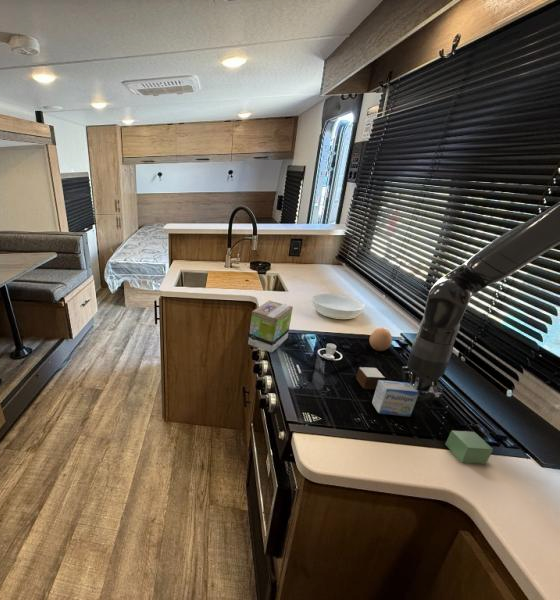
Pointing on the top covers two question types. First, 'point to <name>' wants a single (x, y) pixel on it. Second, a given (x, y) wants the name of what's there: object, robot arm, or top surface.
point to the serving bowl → (337, 306)
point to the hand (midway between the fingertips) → (411, 407)
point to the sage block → (468, 447)
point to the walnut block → (369, 377)
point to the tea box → (270, 325)
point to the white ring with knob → (329, 352)
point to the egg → (380, 339)
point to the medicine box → (394, 398)
